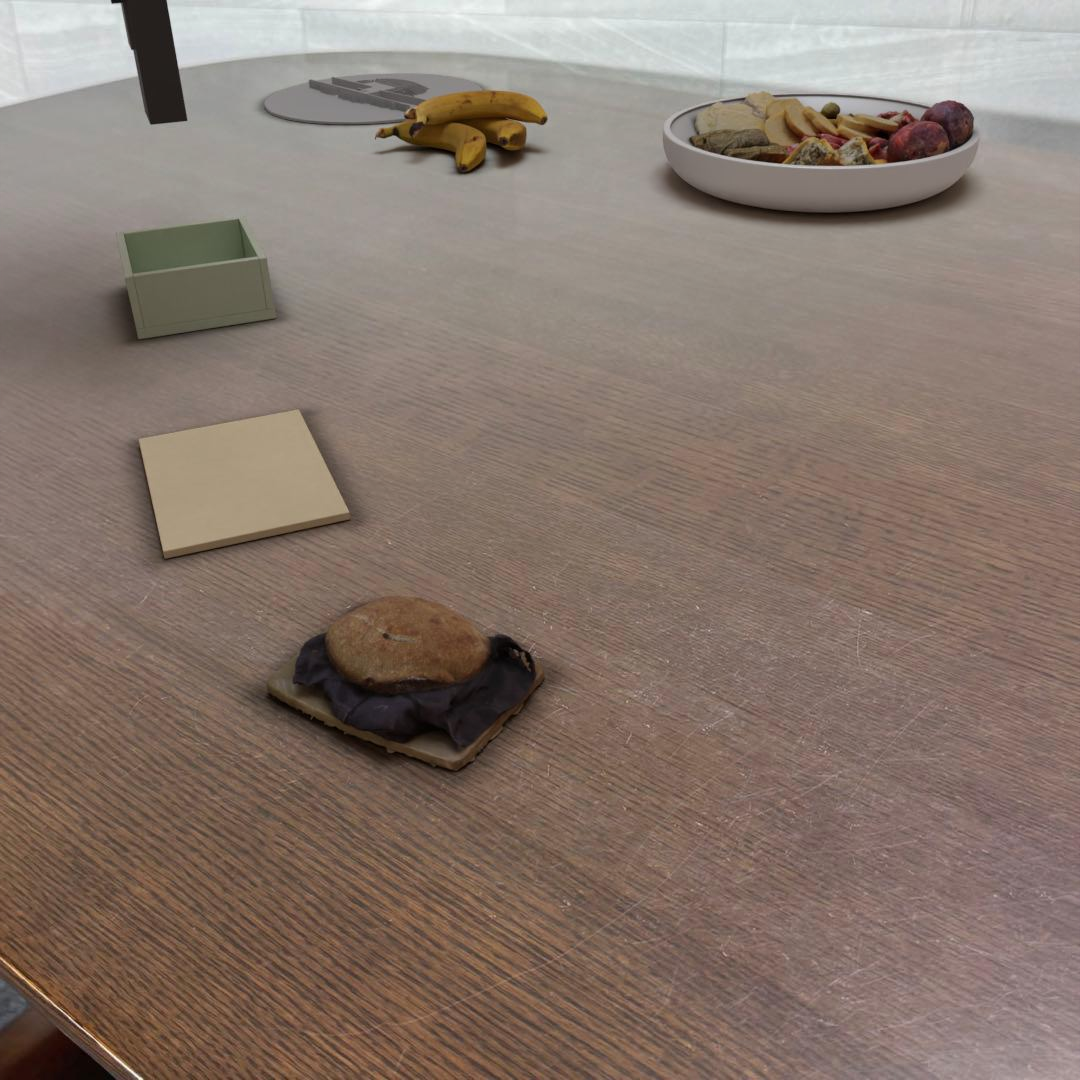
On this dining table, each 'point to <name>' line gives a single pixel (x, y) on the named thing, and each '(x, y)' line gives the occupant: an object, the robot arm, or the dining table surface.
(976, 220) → the dining table surface
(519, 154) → the dining table surface
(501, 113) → the banana
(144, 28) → the bar
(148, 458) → the mat
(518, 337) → the dining table surface
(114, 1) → the robot arm
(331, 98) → the plate
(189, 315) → the green open box
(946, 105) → the bowl
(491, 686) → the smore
